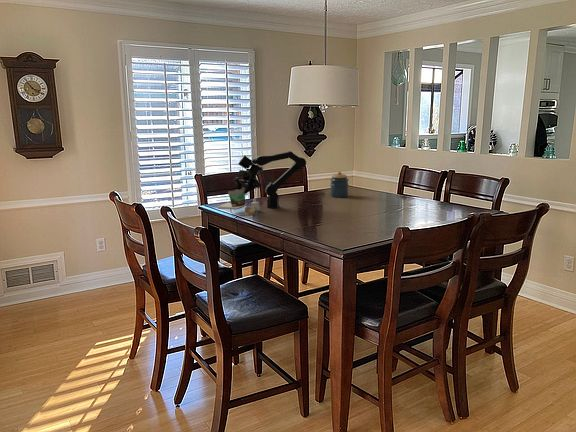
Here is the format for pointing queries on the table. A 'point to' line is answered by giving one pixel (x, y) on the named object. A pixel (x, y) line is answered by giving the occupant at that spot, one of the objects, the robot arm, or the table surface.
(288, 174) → the robot arm
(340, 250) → the table surface
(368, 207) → the table surface
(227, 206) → the cream tile
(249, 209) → the birch block
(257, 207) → the grey plastic cylinder
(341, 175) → the canister
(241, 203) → the food container
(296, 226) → the table surface
